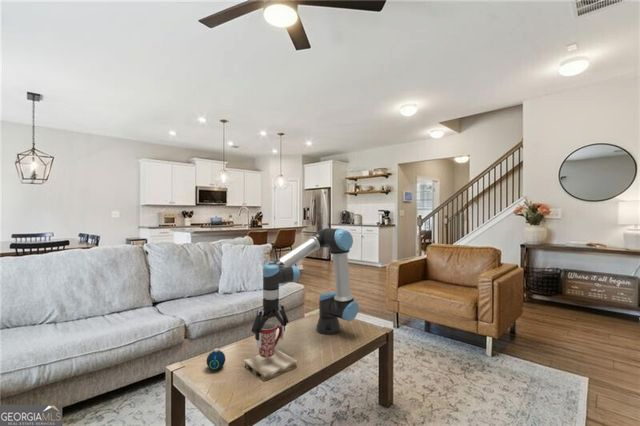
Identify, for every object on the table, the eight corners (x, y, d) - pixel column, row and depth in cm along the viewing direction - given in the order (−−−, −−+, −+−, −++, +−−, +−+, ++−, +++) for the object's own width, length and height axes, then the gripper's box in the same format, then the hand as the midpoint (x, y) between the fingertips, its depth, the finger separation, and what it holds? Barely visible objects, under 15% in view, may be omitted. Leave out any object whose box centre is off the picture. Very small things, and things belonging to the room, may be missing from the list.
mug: (263, 360, 139) (263, 330, 139) (253, 353, 146) (254, 324, 146) (286, 352, 147) (286, 324, 147) (276, 345, 154) (276, 319, 154)
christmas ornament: (202, 372, 142) (202, 350, 142) (213, 363, 150) (213, 343, 150) (218, 374, 140) (218, 352, 139) (228, 365, 148) (228, 345, 148)
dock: (275, 354, 160) (275, 348, 159) (297, 367, 146) (297, 361, 146) (244, 366, 147) (244, 360, 147) (265, 381, 134) (265, 375, 134)
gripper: (286, 291, 157) (286, 333, 158) (243, 301, 141) (243, 347, 141) (295, 294, 152) (295, 337, 152) (252, 304, 135) (252, 353, 135)
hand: (270, 342), depth 147 cm, fingers closed on mug, 12 cm apart
